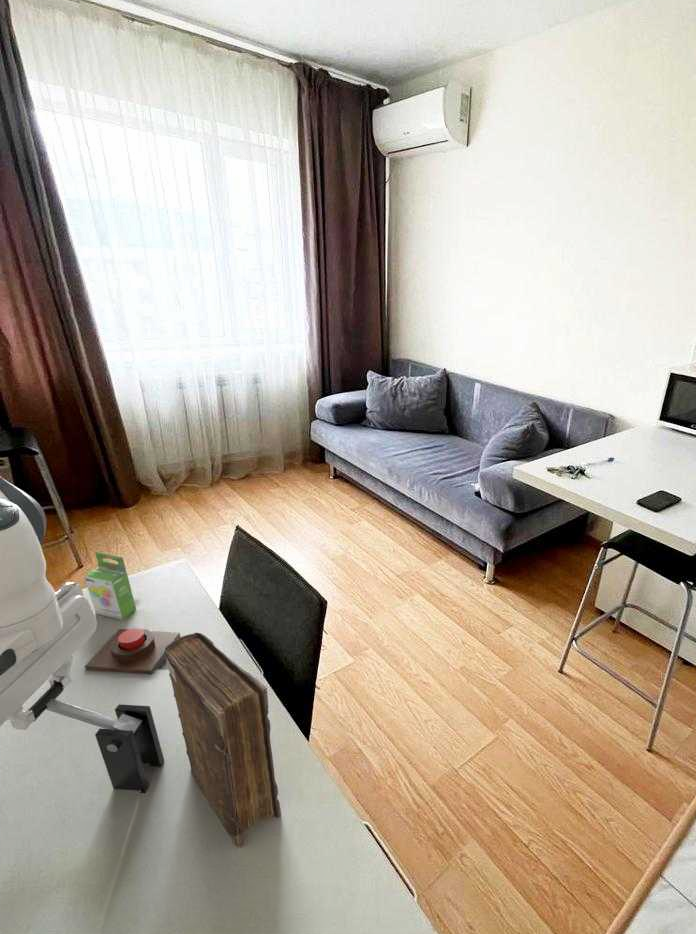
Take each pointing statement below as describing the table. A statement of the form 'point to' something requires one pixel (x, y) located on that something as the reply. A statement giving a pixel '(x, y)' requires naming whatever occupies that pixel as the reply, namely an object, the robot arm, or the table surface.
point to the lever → (82, 712)
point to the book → (224, 732)
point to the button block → (133, 654)
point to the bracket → (130, 749)
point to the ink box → (110, 588)
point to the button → (131, 639)
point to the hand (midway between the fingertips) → (43, 704)
